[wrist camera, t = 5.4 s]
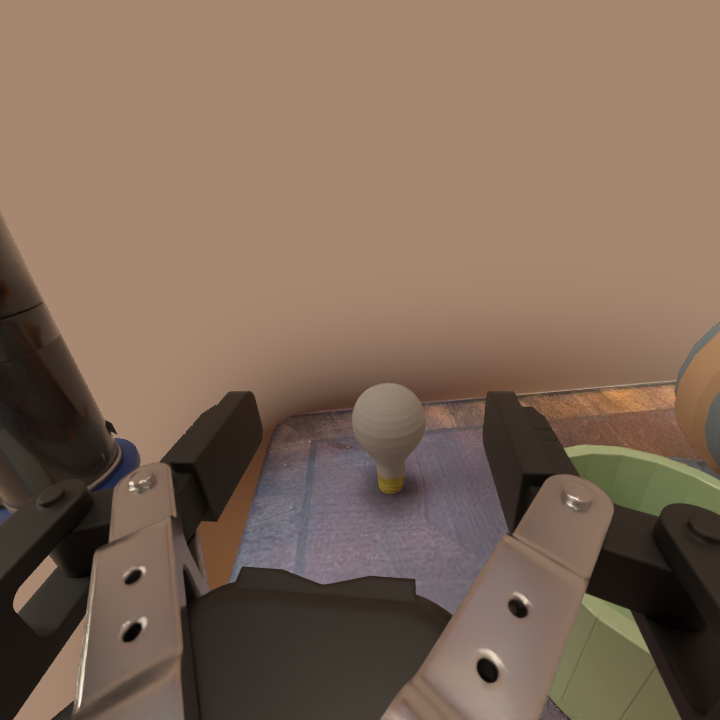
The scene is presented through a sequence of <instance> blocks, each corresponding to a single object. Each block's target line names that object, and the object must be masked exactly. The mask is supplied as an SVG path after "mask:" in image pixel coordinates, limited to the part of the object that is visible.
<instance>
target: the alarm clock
mask: <svg viewBox="0 0 720 720" xmlns="http://www.w3.org/2000/svg"><path fill="white" fill-rule="evenodd" d="M675 397H676V399H675V410H676V415H677V420H678V426H679V427H680V429H681V430H682V432H683V433H684V435H685V436H686V438H687V439H688V441H689V442H690V444H691V445H692V446H693V448H694V449H695V450H696V451H697V453H698V454H699V455H700V456H701V458H702V459H703V460H696V459H688V458H679V457H671V456H670V457H669V459H671V460H674V461H677V462H679V463H682V464H685V465H688V466H690V467H693V468H696V469H699V470H700V471H703V472H705V473H707V474H709V475H711V476H713V477H715V478H717V479H718V480H720V322H719V323H718V324H716V325H715V326H713V327H712V328H711V329H710V330H709V331H708V332H707V333H706V334H705V335H704V336H703V337H702V338H701V339H700V340H699V341H698V342H697V343H696V344H695V345H694V347H693V348H692V350H691V352H690V353H689V355H688V357H687V358H686V360H685V362H684V364H683V365H682V367H681V369H680V370H679V374H678V378H677V383H676V388H675Z"/></svg>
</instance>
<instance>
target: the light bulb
mask: <svg viewBox="0 0 720 720" xmlns="http://www.w3.org/2000/svg"><path fill="white" fill-rule="evenodd" d="M352 427H353V431H354V434H355V436H356V439H357V441H358V442H359V443H360V445H361V446H362V447H363V448H364V449H365V450H366V451H367V452H368V453H369V454H370V455H371V456H372V457H373V458H374V459H375V461H376V468H377V473H378V486H379V488H380V490H381V491H382V492H384V493H387V494H394V493H397V492H399V491H400V490H401V489H402V487H403V482H404V481H403V473H404V470H405V465H404V462H405V459H406V458H407V457H408V455H409V454H410V453H411V452H412V451H413V450H414V449H415V448H416V446H417V445H418V443H419V442H420V441H421V439H422V436H423V433H424V429H425V412H424V409H423V407H422V404H421V402H420V401H419V399H418V398H417V397H416V395H415V394H414V393H412V392H411V391H410V390H409V389H407V388H406V387H404V386H401V385H398V384H394V383H382V384H378V385H376V386H373V387H371V388H369V389H368V390H366V391H365V392H364V393H363V394H362V395H361V396H360V397H359V398H358V400H357V402H356V404H355V406H354V410H353V413H352Z"/></svg>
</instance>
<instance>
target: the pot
mask: <svg viewBox="0 0 720 720" xmlns="http://www.w3.org/2000/svg"><path fill="white" fill-rule="evenodd" d="M564 450H565V452H566V453H567V455H568V457H569V458H570V460H571V462H572V463H573V465H574V467H575V468H576V470H577V472H578V473H579V475H580V477H581V478H584V479H586V480H588V481H590V482H592V483H594V484H596V485H597V486H598V487H600V488H601V489H602V490H603V491H604V492H605V493H606V494H607V495H608V496H609V497H610V499H611V501H612V503H614V504H617V505H619V506H623V507H626V508H629V509H633V510H637V511H641V512H644V513H648V514H652V515H656V516H659V515H660V513H661V511H662V509H663V508H664V507H665V506H667V505H670V504H675V503H684V504H691V505H695V506H699V507H702V508H705V509H708V510H710V511H712V512H715V513H717V514H719V515H720V480H718V479H717V478H715V477H713V476H711V475H709V474H707V473H705V472H703V471H700V470H699V469H696V468H693V467H690V466H688V465H685V464H682V463H679V462H677V461H674V460H671V459H668V458H666V457H663V456H660V455H656V454H652V453H647V452H643V451H638V450H634V449H629V448H624V447H618V446H601V445H579V446H573V447H567V448H564ZM548 696H549V697H550V698H551V699H552V700H553V702H554V703H555V704H556V705H557V706H558V707H559V708H560V709H561V710H562V711H563V713H564V714H565V715H566V716H567V717H569V718H570V719H571V720H681V718H680V716H679V714H678V712H677V709H676V707H675V705H674V703H673V701H672V699H671V697H670V694H669V692H668V690H667V688H666V686H665V684H664V682H663V679H662V677H661V675H660V673H659V671H658V669H657V667H656V664H655V662H654V660H653V658H652V656H651V654H650V652H649V650H648V647H647V645H646V643H645V641H644V639H643V637H642V635H641V632H640V630H639V628H638V626H637V624H636V622H635V620H634V617H633V615H632V613H631V611H630V610H629V609H626V608H624V607H621V606H618V605H615V604H613V603H610V602H607V601H605V600H602V599H599V598H597V597H594V596H591V595H589V594H586V593H585V594H584V597H583V600H582V603H581V606H580V608H579V611H578V614H577V617H576V619H575V622H574V625H573V628H572V630H571V633H570V636H569V639H568V642H567V644H566V647H565V650H564V653H563V655H562V658H561V661H560V664H559V667H558V669H557V672H556V675H555V678H554V680H553V683H552V686H551V689H550V691H549V694H548Z"/></svg>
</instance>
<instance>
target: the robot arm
mask: <svg viewBox="0 0 720 720" xmlns="http://www.w3.org/2000/svg"><path fill="white" fill-rule="evenodd" d="M111 432H113V433H115V434H117V433H116V431H115V429H114V427H113V425H112V423H110V422H108V421H106V420H105V419H104V417H103V415H102V413H101V411H100V410H99V408H98V406H97V404H96V402H95V400H94V398H93V396H92V394H91V392H90V390H89V388H88V386H87V384H86V382H85V380H84V378H83V377H82V374H81V373H80V371H79V369H78V367H77V365H76V363H75V361H74V359H73V357H72V355H71V353H70V351H69V349H68V347H67V345H66V343H65V341H64V340H63V338H62V336H61V334H60V332H59V330H58V328H57V326H56V324H55V322H54V320H53V318H52V316H51V314H50V312H49V310H48V308H47V306H46V304H45V303H44V301H43V298H42V296H41V294H40V292H39V290H38V289H37V287H36V285H35V283H34V281H33V278H32V276H31V274H30V272H29V270H28V268H27V266H26V263H25V261H24V259H23V257H22V255H21V253H20V251H19V249H18V247H17V245H16V243H15V241H14V239H13V237H12V235H11V233H10V231H9V229H8V227H7V224H6V222H5V220H4V218H3V216H2V214H1V211H0V510H1V509H8V511H9V512H10V513H11V514H12V515H11V516H10V517H9V518H8V519H6V520H5V521H4V522H3V523H2V524H1V525H0V720H13V719H14V717H15V716H16V715H17V713H18V712H19V710H20V709H21V707H22V706H23V704H24V703H25V701H26V700H27V699H28V697H29V696H30V694H31V693H32V691H33V690H34V688H35V687H36V686H37V684H38V683H39V681H40V680H41V678H42V677H43V675H44V674H45V673H46V671H47V670H48V668H49V667H50V665H51V664H52V662H53V661H54V660H55V658H56V657H57V655H58V654H59V652H60V651H61V649H62V648H63V646H64V645H65V643H66V642H67V641H68V639H69V638H70V636H71V635H72V633H73V632H74V630H75V629H76V628H77V626H78V625H79V623H80V622H81V620H82V619H83V618H84V616H85V615H86V618H85V626H84V633H83V641H82V648H81V656H80V663H79V671H78V678H77V685H76V693H75V700H74V701H73V702H71V703H70V704H69V705H68V706H67V707H66V708H64V709H63V710H62V711H61V712H59V713H58V714H57V715H56V716H55V717H54V718H52V719H51V720H539V719H540V716H541V714H542V711H543V708H544V705H545V703H546V700H547V697H548V694H549V691H550V689H551V686H552V683H553V680H554V678H555V675H556V672H557V669H558V667H559V664H560V661H561V658H562V655H563V653H564V650H565V647H566V644H567V642H568V639H569V636H570V633H571V630H572V628H573V625H574V622H575V619H576V617H577V614H578V611H579V608H580V606H581V603H582V600H583V597H584V594H585V593H586V594H589V595H591V596H594V597H597V598H599V599H602V600H605V601H607V602H610V603H613V604H615V605H618V606H621V607H624V608H626V609H629V610H630V611H631V613H632V615H633V617H634V620H635V622H636V624H637V626H638V628H639V630H640V632H641V635H642V637H643V639H644V641H645V643H646V645H647V647H648V650H649V652H650V654H651V656H652V658H653V660H654V662H655V664H656V667H657V669H658V671H659V673H660V675H661V677H662V679H663V682H664V684H665V686H666V688H667V690H668V692H669V694H670V697H671V699H672V701H673V703H674V705H675V707H676V709H677V712H678V714H679V716H680V718H681V720H720V515H719V514H717V513H715V512H712V511H710V510H708V509H705V508H702V507H699V506H695V505H691V504H684V503H675V504H670V505H667V506H665V507H664V508H663V509H662V511H661V513H660V515H659V516H656V515H652V514H648V513H644V512H641V511H637V510H633V509H629V508H626V507H623V506H619V505H617V504H614V503H612V501H611V499H610V497H609V496H608V495H607V494H606V493H605V492H604V491H603V490H602V489H601V488H600V487H598V486H597V485H596V484H594V483H592V482H590V481H588V480H586V479H584V478H581V477H580V475H579V473H578V472H577V470H576V468H575V467H574V465H573V463H572V462H571V460H570V458H569V457H568V455H567V453H566V452H565V450H564V448H563V447H562V445H561V443H560V441H558V438H557V436H556V435H555V433H554V431H552V428H551V426H550V425H549V423H548V421H547V420H546V418H545V417H544V416H543V415H542V414H540V413H539V412H538V411H536V410H535V409H534V408H533V407H522V406H521V405H520V403H519V401H518V399H517V397H516V395H515V393H514V392H513V391H489V392H488V393H487V397H486V406H485V415H484V425H483V444H484V449H485V452H486V456H487V459H488V462H489V466H490V469H491V473H492V476H493V479H494V483H495V486H496V489H497V493H498V496H499V499H500V503H501V506H502V509H503V513H504V516H505V520H506V523H507V526H508V530H509V533H510V534H509V533H506V534H505V535H504V536H503V537H502V539H501V540H500V542H499V543H498V545H497V547H496V548H495V550H494V551H493V553H492V554H491V556H490V558H489V559H488V561H487V562H486V564H485V566H484V567H483V569H482V570H481V572H480V574H479V575H478V577H477V578H476V580H475V581H474V583H473V585H472V586H471V588H470V589H469V591H468V593H467V594H466V596H465V597H464V599H463V601H462V602H461V604H460V605H459V607H458V608H457V610H456V612H455V613H454V615H453V616H452V615H451V614H450V613H449V612H448V611H446V610H445V609H443V608H442V607H440V606H439V605H437V604H436V603H434V602H432V601H430V600H428V599H426V598H424V597H421V596H419V595H416V586H415V579H406V578H392V577H378V576H367V577H362V578H357V579H352V580H347V581H342V582H337V583H332V584H325V585H324V584H319V583H316V582H313V581H311V580H308V579H306V578H303V577H300V576H298V575H295V574H293V573H290V572H287V571H285V570H282V569H268V568H254V567H242V568H241V570H240V572H239V575H238V577H237V580H236V582H233V583H229V584H226V585H223V586H220V587H218V588H216V589H214V590H211V591H210V590H209V585H208V581H207V576H206V570H205V564H204V558H203V553H202V548H201V542H200V536H199V533H198V530H197V527H198V526H199V524H200V522H201V521H212V522H217V521H218V519H219V517H220V515H221V514H222V512H223V510H224V508H225V506H226V505H227V503H228V501H229V499H230V497H231V496H232V494H233V492H234V490H235V488H236V487H237V485H238V483H239V481H240V479H241V478H242V476H243V474H244V472H245V470H246V469H247V467H248V465H249V463H250V461H251V460H252V458H253V456H254V454H255V453H256V451H257V449H258V447H259V445H260V443H261V440H262V435H263V428H262V423H261V420H260V416H259V412H258V408H257V404H256V400H255V396H254V394H253V393H252V392H250V391H243V392H242V391H237V392H236V391H231V392H228V393H227V394H226V395H225V397H224V398H223V399H222V400H221V401H220V403H219V404H218V405H215V406H213V407H212V408H210V409H209V410H207V411H206V412H204V413H202V414H201V415H200V417H199V418H198V419H197V420H196V421H195V422H194V424H193V426H191V427H190V428H189V429H188V430H187V431H186V434H184V435H183V436H182V437H181V438H180V439H179V440H178V441H177V443H176V444H175V445H174V446H173V447H172V448H171V449H170V450H169V452H168V453H167V454H166V455H165V456H164V457H163V458H162V460H161V461H160V462H159V463H151V464H147V465H144V466H141V467H139V468H137V469H135V470H133V471H131V472H130V473H128V474H127V475H125V476H124V477H123V478H122V479H121V480H120V481H119V482H118V483H117V485H116V486H115V487H112V488H107V489H102V490H98V489H99V488H100V487H102V486H103V485H104V484H105V483H106V482H108V481H109V480H110V479H111V478H112V477H113V476H114V474H115V473H116V472H117V471H118V469H119V468H120V466H121V464H122V461H123V452H122V451H121V449H120V447H119V445H118V444H117V443H116V441H115V439H114V438H113V435H112V433H111ZM96 490H98V491H96ZM48 555H49V556H50V557H51V558H52V559H53V561H54V562H55V563H56V565H57V566H58V567H57V568H56V569H55V570H54V571H53V573H52V574H51V575H50V576H49V577H48V578H47V580H46V581H45V582H44V583H43V584H42V585H41V587H40V588H39V589H38V590H37V591H36V592H35V594H34V595H33V596H32V597H31V598H30V600H29V601H28V602H27V603H26V604H25V605H24V607H23V608H22V609H21V610H20V611H19V613H18V614H17V613H16V612H15V611H14V608H13V600H14V596H15V594H16V592H17V590H18V589H19V587H20V586H21V585H22V583H24V581H25V580H26V579H27V578H28V577H29V576H30V575H31V574H32V573H33V571H34V570H35V569H36V568H37V567H38V566H39V565H40V563H42V561H43V560H44V559H45V558H46V557H47V556H48Z"/></svg>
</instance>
